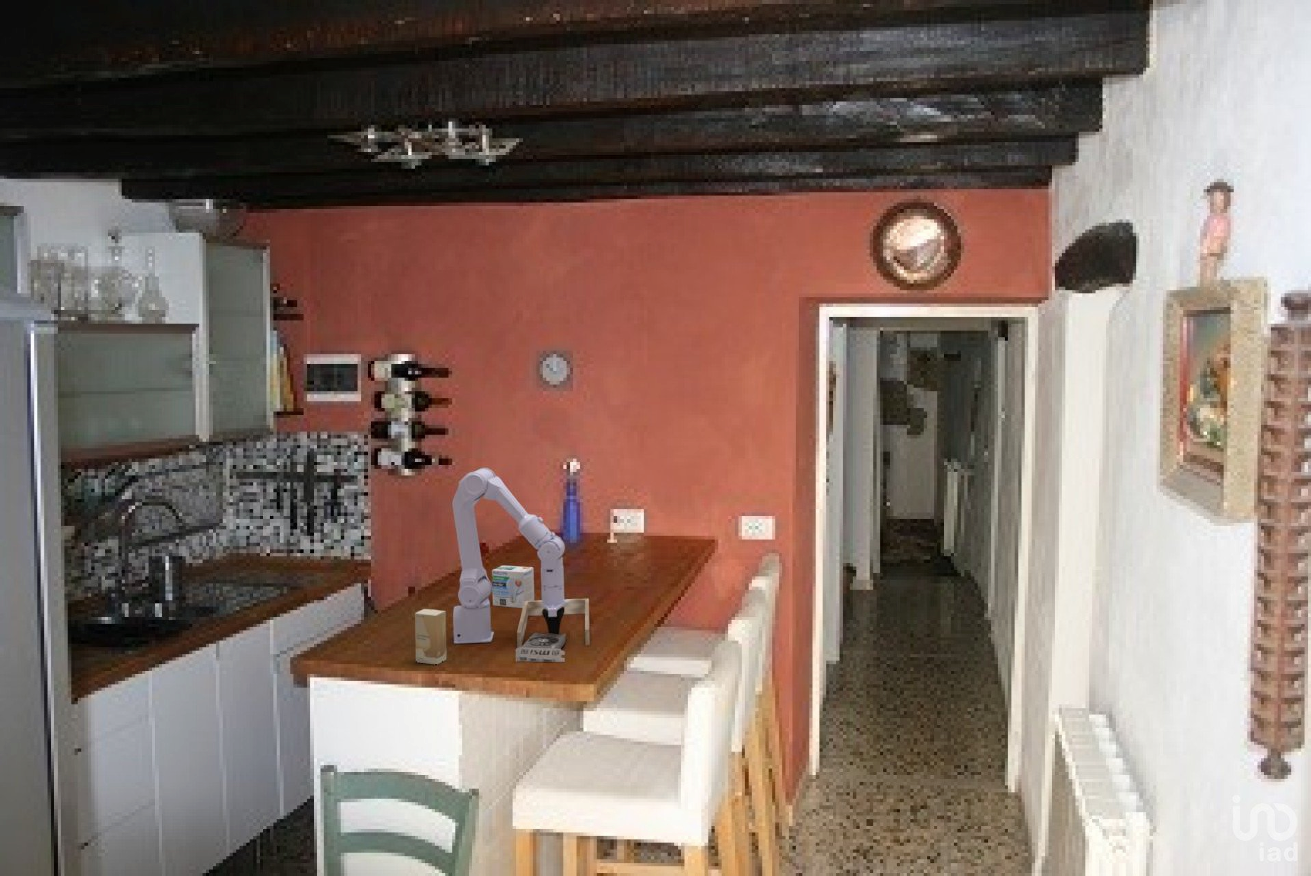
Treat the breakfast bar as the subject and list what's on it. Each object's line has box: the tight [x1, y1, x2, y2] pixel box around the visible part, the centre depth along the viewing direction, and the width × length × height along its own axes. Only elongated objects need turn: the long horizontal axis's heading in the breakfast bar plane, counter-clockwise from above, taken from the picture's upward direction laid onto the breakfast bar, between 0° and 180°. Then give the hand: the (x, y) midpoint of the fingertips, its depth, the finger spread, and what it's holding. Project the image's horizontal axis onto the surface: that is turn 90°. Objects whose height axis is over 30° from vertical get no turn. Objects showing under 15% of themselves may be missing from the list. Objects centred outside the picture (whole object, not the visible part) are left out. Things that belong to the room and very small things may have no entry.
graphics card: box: [515, 631, 567, 663], centre depth 241 cm, size 17×4×12 cm
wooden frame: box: [516, 598, 591, 649], centre depth 261 cm, size 18×31×4 cm, turn 4°
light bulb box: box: [491, 564, 535, 609], centre depth 287 cm, size 11×7×11 cm, turn 70°
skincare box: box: [414, 608, 447, 665], centre depth 235 cm, size 6×4×12 cm
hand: (554, 637), depth 250 cm, fingers closed
